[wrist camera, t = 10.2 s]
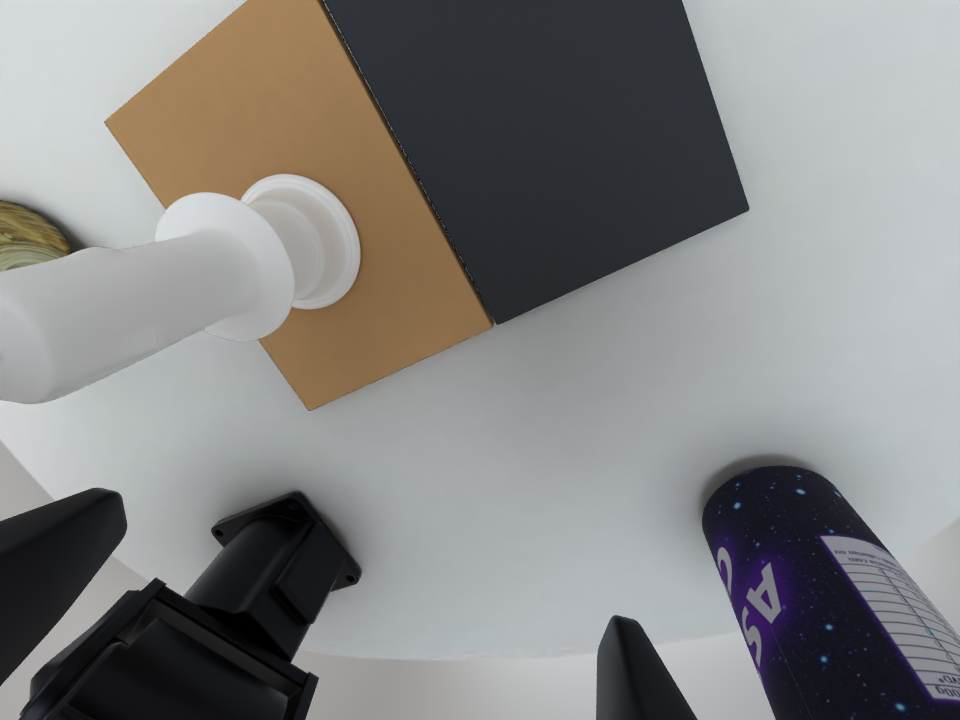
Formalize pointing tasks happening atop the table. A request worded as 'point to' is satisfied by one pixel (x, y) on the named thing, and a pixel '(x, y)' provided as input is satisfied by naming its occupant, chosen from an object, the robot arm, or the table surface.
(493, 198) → the sorting mat
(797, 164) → the table surface
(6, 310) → the candle
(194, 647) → the robot arm
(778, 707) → the beverage can
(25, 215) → the seashell
